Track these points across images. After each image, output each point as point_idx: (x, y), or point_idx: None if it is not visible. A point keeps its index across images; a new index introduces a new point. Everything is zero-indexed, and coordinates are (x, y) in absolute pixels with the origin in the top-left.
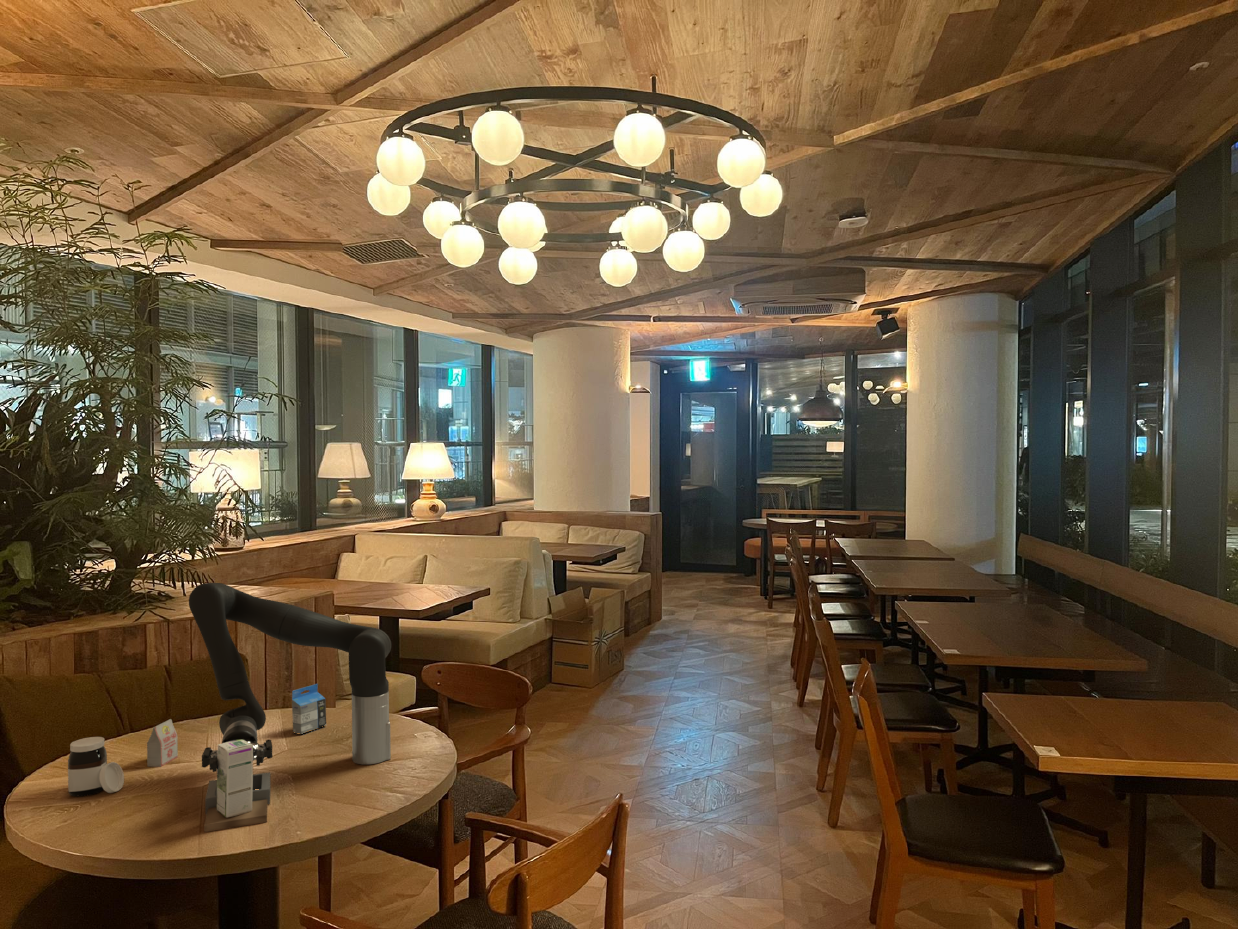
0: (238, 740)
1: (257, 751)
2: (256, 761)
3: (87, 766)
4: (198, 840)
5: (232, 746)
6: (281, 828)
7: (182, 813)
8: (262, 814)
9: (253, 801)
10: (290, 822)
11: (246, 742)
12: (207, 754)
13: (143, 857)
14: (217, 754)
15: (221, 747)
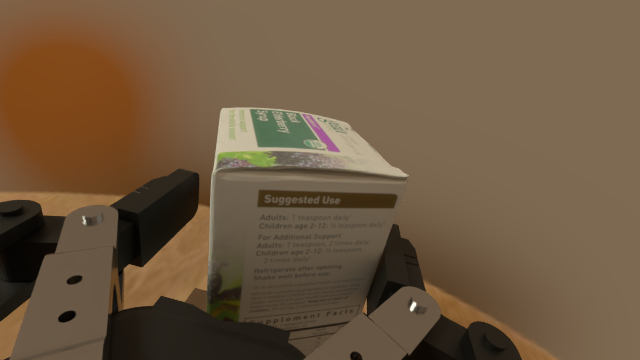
0: (265, 154)
1: (142, 205)
2: (198, 190)
3: None
4: (364, 310)
5: (322, 124)
6: (189, 254)
7: None
8: (201, 297)
9: None
10: (153, 267)
11: (233, 125)
12: (479, 350)
13: (461, 304)
14: (389, 228)
15: (377, 156)
